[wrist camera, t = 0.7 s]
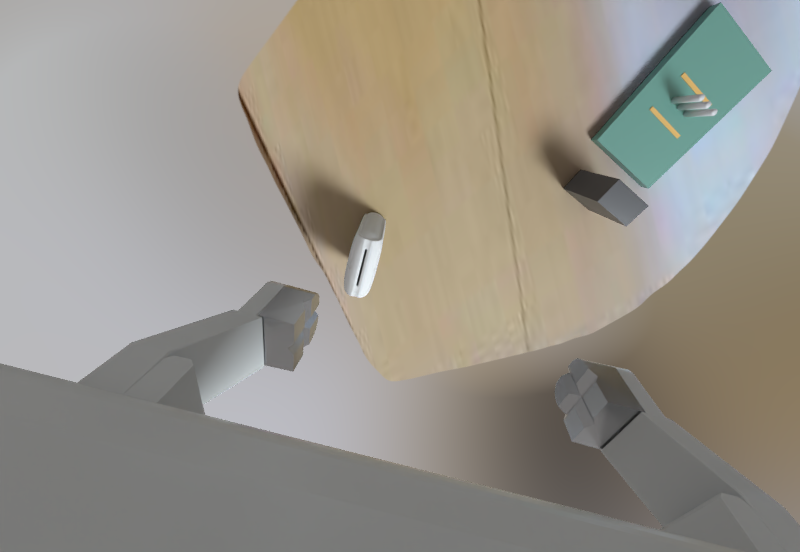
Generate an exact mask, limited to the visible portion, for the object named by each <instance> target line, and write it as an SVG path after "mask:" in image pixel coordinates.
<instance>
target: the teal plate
mask: <svg viewBox="0 0 800 552" xmlns="http://www.w3.org/2000/svg"><path fill="white" fill-rule="evenodd" d="M771 71H772V70H771V69H770V68H769V66H768V65H767V64H766V62H765V61H764V60H763V58H762V57H761V56H760V54H759V53H758V52H757V50H756V49H755V48H754V46H753V45H752V44H751V42H750V41H749V39H748V38H747V37H746V35H745V34H744V33H743V31H742V30H741V29H740V27H739V26H738V25H737V23H736V22H735V21H734V19H733V18H732V17H731V15H730V14H729V13H728V11H727V10H726V8H725V7H724V6H723V4H722V3H718V4H716V5H713V6H710V7H709V8H708V9H707V10H706V11H705V12H704V13H703V14H702V16H701V17H700V18H699V19H698V20H697V21H696V22H695V23H694V25H693V26H692V27H691V28H690V29H689V30H688V31H687V32H686V34H685V35H684V36H683V37H682V38H681V39H680V40H679V41H678V43H677V44H676V45H675V46H674V47H673V48H672V49H671V50H670V52H669V53H668V54H667V55H666V56H665V57H664V58H663V59H662V61H661V62H660V63H659V64H658V65H657V66H656V67H655V68H654V70H653V71H652V72H651V73H650V74H649V75H648V76H647V77H646V79H645V80H644V81H643V82H642V83H641V84H640V85H639V86H638V88H637V89H636V90H635V91H634V92H633V93H632V94H631V95H630V97H629V98H628V99H627V100H626V101H625V102H624V103H623V104H622V106H621V107H620V108H619V109H618V110H617V111H616V112H615V113H614V115H613V116H612V117H611V118H610V119H609V120H608V121H607V122H606V124H605V125H604V126H603V127H602V128H601V129H600V130H599V131H598V133H597V134H596V135H595V136H594V137H593V138H592V139H591V140H592V141H593V142H594V143H595V144H596V145H597V146H598V147H600V148H601V149H602V150H603V151H604V152H605V153H606V154H607V155H608V156H609V157H610V158H611V159H612V160H613V161H614V162H616V163H617V164H618V165H619V166H620V167H621V168H622V169H623V170H624V171H625V172H626V173H627V174H628V175H629V176H630V177H632V178H633V179H634V180H635V181H636V182H637V183H638V184H639V185H640V186H641V187H644V188H648V189H649V188H650V187H651V186H652V185H653V184H654V183H655V182H656V181H657V180H658V179H659V178H660V177H661V176H662V175H663V174H664V173H665V172H666V171H667V170H668V169H669V168H671V167H672V166H673V165H674V164H675V163H676V162H677V161H678V160H679V159H680V158H681V157H682V156H683V155H684V154H685V153H686V152H687V151H688V150H689V149H690V148H691V147H692V146H694V145H695V144H696V143H697V142H698V141H699V140H700V139H701V138H702V137H703V136H704V135H705V134H706V133H707V132H708V131H709V130H710V129H711V128H712V127H713V126H714V125H715V124H717V123H718V122H719V121H720V120H721V119H722V118H723V117H724V116H725V115H726V114H727V113H728V112H729V111H730V110H731V109H732V108H733V107H734V106H735V105H736V104H737V103H738V102H739V101H741V100H742V99H743V98H744V97H745V96H746V95H747V94H748V93H749V92H750V91H751V90H752V89H753V88H754V87H755V86H756V85H757V84H758V83H759V82H760V81H761V80H762V79H764V78H765V77H766V76H767V75H768V74H769V73H770V72H771Z"/></svg>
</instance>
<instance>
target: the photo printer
mask: <svg viewBox="0 0 800 552" xmlns="http://www.w3.org/2000/svg"><path fill="white" fill-rule="evenodd" d="M385 225H386V220H385V219H384V218H383V217H382V216H381V215H380V214H378V213H374V212H371V213H368V214H365V215H364V216H363V218H362V221H361V223H360V226H359V228H358V230H357V233H356V235H355V237H354V240H353V242H352V246H351V250H350V254H349V258H348V262H347V267H346V272H345V278H344V289H345V291H346V293H347V294H348V295H350V296H355V297H358V298H360V297H364V296H366V295H367V294H368V292H369V290H370V288H371V286H372V283H373V280H374V277H375V273H376V270H377V266H378V262H379V258H380V254H381V250H382V244H383V238H384V232H385Z"/></svg>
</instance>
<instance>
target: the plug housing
mask: <svg viewBox="0 0 800 552" xmlns="http://www.w3.org/2000/svg"><path fill="white" fill-rule="evenodd" d="M564 189H565V190H566V191H567V192H568V193H569V194H571V195H572V196H573V197H574V198H575V199H576V200H578V201H579V202H580V203H581V204H582V205H584V206H585V207H586V208H587V209H588V210H590V211H593V212H595V213H597V214H599V215H602V216H604V217H606V218H608V219H611V220H613V221H615V222H617V223H620V224H622V225H624V226H627V225H628V224H630V223H631V222H632V221H633V220H634V219H635V218H636V217H637V216H638V215H639V214H640V213H641V212H642V211H643V210H645V209H646V208H647V207H648V205H647V204H646V203H645V202H644V201H643V200H642V199H640V198H639V197H638V196H637V195H636V194H635V193H634V192H633V191H632V190H631V189H630V188H628V187H627V186H626V185H625V184H624V183H623V182H622V181H621V180H620V179H616V178H612V177H608V176H604V175H600V174H596V173H591V172H587V171H583V170H580V171H579V172H578V173H577V174H576V175H575V177H574V178H573V179H572V180H571V181H570V182H569V183H568V184H567V185H566V186H565V188H564Z"/></svg>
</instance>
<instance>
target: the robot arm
mask: <svg viewBox="0 0 800 552" xmlns="http://www.w3.org/2000/svg"><path fill="white" fill-rule="evenodd" d="M318 305H319V295H318V294H317V293H315V292H311V291H307V290H304V289H300V288H296V287H293V286H289V285H285V284H281V283H277V282H273V281H271V282H267V283H266V284H265V285H264V286H263V287H262V288H261V289H260V290H259V291H258V292H257V293H256V294H255V295H254V296H253V297H252V298H251V299H250V300H249V301H248V302H247V303H246V304H245V305H244V306H243V307H242V308H241V309H239V310H238V311H235V310H231V311H228V312H225V313H222V314H218V315H215V316H212V317H209V318H206V319H203V320H200V321H197V322H194V323H191V324H188V325H184V326H181V327H178V328H175V329H172V330H169V331H166V332H163V333H160V334H157V335H154V336H151V337H147V338H145V339H141V340H138V341H135V342H132V343H130V344H129V345H128V346H126V347H125V348H124V349H122V350H121V351H120V352H118V353H117V354H116V355H114V356H113V357H111V358H110V359H109V360H107V361H106V362H105V363H104V364H102V365H101V366H99V367H98V368H97V369H95V370H94V371H93V372H91V373H90V374H89V375H87V376H86V377H85V378H83V379H82V380H80V381H79V382H78V383H76V382H72V381H68V380H64V379H60V378H56V377H52V376H48V375H44V374H40V373H36V372H32V371H28V370H24V369H20V368H16V367H12V366H8V365H4V364H0V552H800V525H799V524H798V523H797V522H796V521H795V519H794V518H793V517H792V516H791V515H790V514H789V512H788V511H787V510H786V509H785V508H784V507H783V506H782V505H781V504H779V503H778V502H777V501H775V500H774V499H773V498H772V497H770V496H769V495H768V494H766V493H765V492H764V491H763V490H761V489H760V488H759V487H757V486H756V485H755V484H753V483H752V482H751V481H750V480H748V479H747V478H746V477H745V476H743V475H742V474H741V473H739V472H738V471H737V470H736V469H734V468H733V467H732V466H730V465H729V464H728V463H727V462H725V461H724V460H723V459H721V458H720V457H719V456H718V455H716V454H715V453H714V452H712V451H711V450H710V449H708V448H707V447H706V446H705V445H704V444H702V443H701V442H700V441H698V440H697V439H696V438H694V437H693V436H692V435H691V434H689V433H688V432H687V431H686V430H684V429H683V428H682V427H680V426H679V425H678V424H676V423H675V422H674V421H673V420H671V419H668V418H665V416H664V415H663V413H662V412H661V411H660V409H659V408H658V407H657V405H656V404H655V403H654V401H653V400H652V398H651V397H650V396H649V394H648V393H647V392H646V390H645V389H644V387H643V386H642V385H641V383H640V382H639V381H638V379H637V378H636V376H635V375H634V374H633V373H632V372H630V371H629V370H627V369H623V368H618V367H614V366H607V365H603V364H599V363H595V362H591V361H587V360H583V359H578V358H577V359H575V360H574V361H572V363H571V364H570V365H569V372H570V373H567V374H565V375H563V376H561V377H560V379H559V380H558V382H557V383H556V388H555V398H556V402H557V404H558V406H559V408H560V409H561V410H562V411H563V412H564V413H565V414H566V415H565V418H564V422H565V425H566V427H567V430H568V433H569V435H570V437H571V440H572V442H576V443H580V444H583V445H587V446H590V447H594V448H597V449H601V452H602V453H603V454H604V456H605V457H606V458H607V459H608V461H609V462H610V463H611V464H612V465H613V467H614V468H615V469H616V470H617V472H618V473H619V474H620V475H621V476H622V478H623V479H624V480H625V481H626V482H627V484H628V485H629V486H630V487H631V489H632V490H633V491H634V492H635V493H636V495H637V496H638V497H639V498H640V499H641V501H642V502H643V503H644V504H645V505H646V507H647V508H648V509H649V510H650V512H651V513H652V514H653V515H654V517H655V518H656V519H657V520H658V521H659V522H660V524H661V525H662V526H663V527H662V528H661V529H659V530H658V529H654V528H650V527H646V526H643V525H639V524H634V523H631V522H627V521H622V520H619V519H615V518H610V517H607V516H603V515H598V514H595V513H591V512H587V511H583V510H579V509H575V508H571V507H567V506H562V505H559V504H555V503H551V502H547V501H543V500H539V499H535V498H531V497H527V496H523V495H519V494H515V493H511V492H507V491H503V490H499V489H495V488H491V487H487V486H483V485H479V484H475V483H472V482H467V481H464V480H460V479H455V478H452V477H447V476H444V475H440V474H436V473H432V472H428V471H424V470H420V469H416V468H412V467H408V466H404V465H400V464H396V463H392V462H388V461H385V460H381V459H376V458H373V457H369V456H365V455H360V454H357V453H353V452H349V451H345V450H341V449H337V448H333V447H329V446H325V445H321V444H317V443H313V442H309V441H305V440H301V439H297V438H293V437H289V436H285V435H281V434H277V433H274V432H270V431H266V430H262V429H257V428H254V427H249V426H246V425H242V424H238V423H234V422H230V421H226V420H222V419H218V418H214V417H210V416H206V415H205V412H204V408H203V405H204V404H205V403H207V402H209V401H210V400H212V399H213V398H215V397H217V396H218V395H220V394H221V393H223V392H224V391H226V390H228V389H229V388H231V387H233V386H234V385H236V384H238V383H239V382H241V381H242V380H244V379H246V378H247V377H249V376H250V375H252V374H253V373H255V372H257V371H258V370H260V369H261V368H263V367H264V365H267V366H271V367H276V368H280V369H284V370H289V371H294V369H295V367H296V366H297V364H298V362H299V361H300V359H301V357H302V355H303V347H304V346H306V345H308V344H309V343H310V341H311V340H312V338H313V335H314V332H315V330H316V326H317V321H318V315H317V313H316V312H315V310H316V308H317V306H318Z"/></svg>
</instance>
